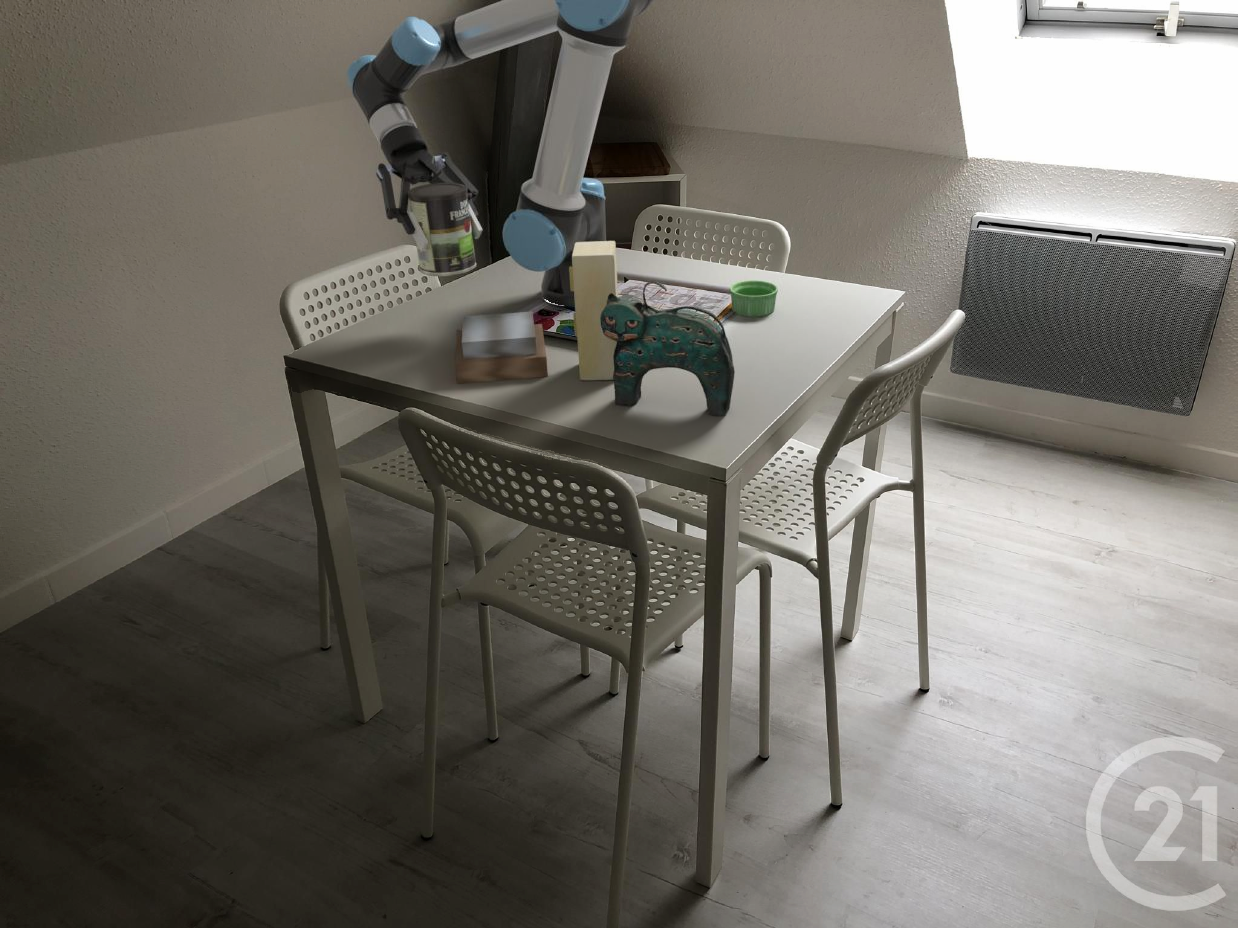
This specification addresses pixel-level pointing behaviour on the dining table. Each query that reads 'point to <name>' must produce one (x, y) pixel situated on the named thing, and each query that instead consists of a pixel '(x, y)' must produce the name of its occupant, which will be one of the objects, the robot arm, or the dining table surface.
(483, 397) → the dining table surface
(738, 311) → the ramekin
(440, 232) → the coffee can
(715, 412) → the ceramic cat
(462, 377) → the tower base
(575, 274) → the cream tall block
